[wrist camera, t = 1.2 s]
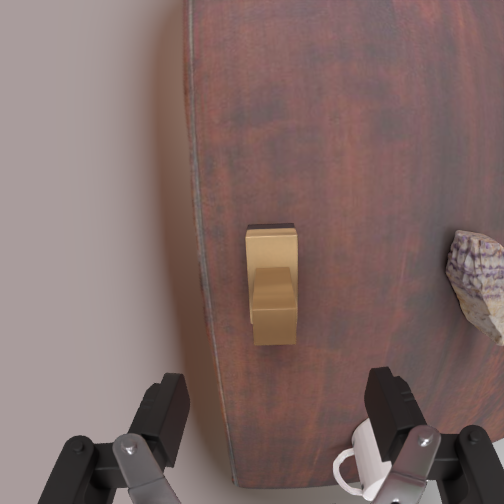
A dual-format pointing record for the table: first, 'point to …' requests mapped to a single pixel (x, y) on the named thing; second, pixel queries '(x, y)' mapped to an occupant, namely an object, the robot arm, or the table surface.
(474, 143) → the table surface
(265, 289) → the scrub brush
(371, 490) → the mug
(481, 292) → the mineral specimen
